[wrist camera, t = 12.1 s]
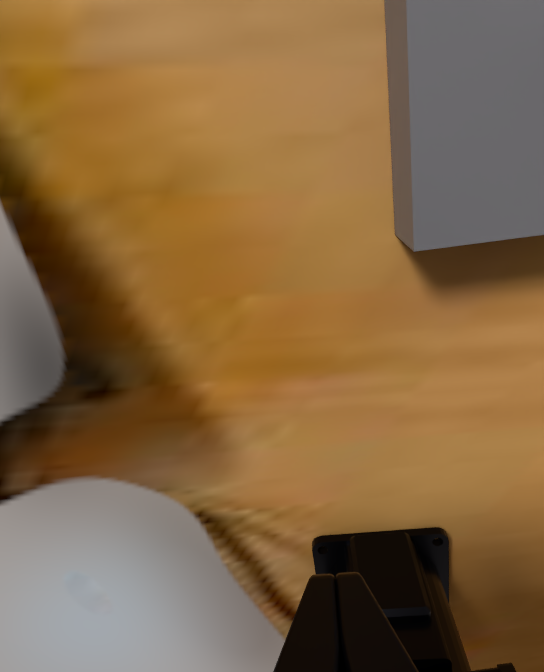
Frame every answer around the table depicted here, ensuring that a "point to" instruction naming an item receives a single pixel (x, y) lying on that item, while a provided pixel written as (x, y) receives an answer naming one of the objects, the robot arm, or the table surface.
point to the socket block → (466, 120)
